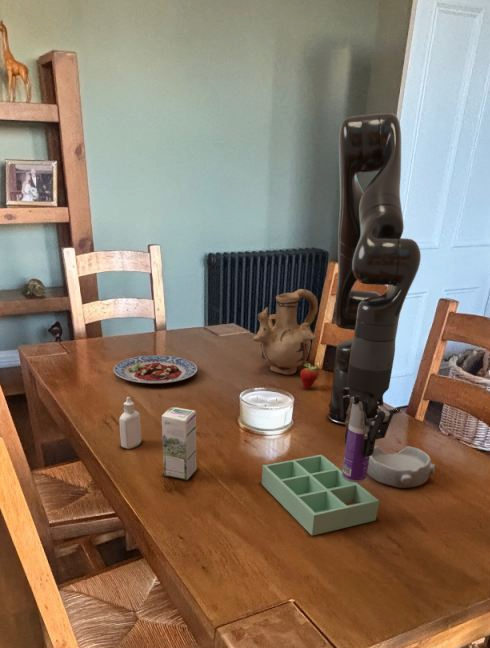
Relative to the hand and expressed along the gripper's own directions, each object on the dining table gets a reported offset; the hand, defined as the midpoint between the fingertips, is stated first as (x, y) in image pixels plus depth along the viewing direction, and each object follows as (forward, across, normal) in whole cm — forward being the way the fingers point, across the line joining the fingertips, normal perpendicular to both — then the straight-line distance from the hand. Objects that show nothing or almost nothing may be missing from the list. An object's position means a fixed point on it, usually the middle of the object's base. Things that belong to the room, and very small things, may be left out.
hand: (358, 449), depth 116 cm
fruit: (+15, +66, -28) cm, 73 cm away
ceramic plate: (+15, +93, +11) cm, 95 cm away
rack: (+15, +7, +4) cm, 16 cm away
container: (+6, 0, 0) cm, 6 cm away
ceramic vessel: (+15, +84, -28) cm, 90 cm away
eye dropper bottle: (+15, +47, +32) cm, 58 cm away
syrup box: (+15, +29, +26) cm, 41 cm away
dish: (+15, +10, -20) cm, 26 cm away
